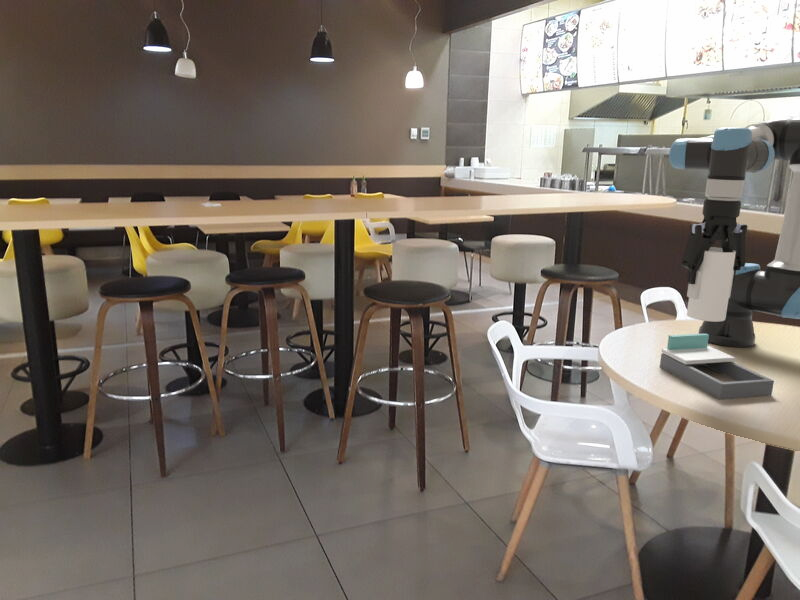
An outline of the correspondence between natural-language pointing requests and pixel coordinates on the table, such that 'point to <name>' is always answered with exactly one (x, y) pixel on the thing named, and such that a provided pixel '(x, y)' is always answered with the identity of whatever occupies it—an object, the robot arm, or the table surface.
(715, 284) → the cup
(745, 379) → the grey shallow rectangular tray
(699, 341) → the cover
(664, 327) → the table surface
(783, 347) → the table surface
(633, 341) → the table surface
